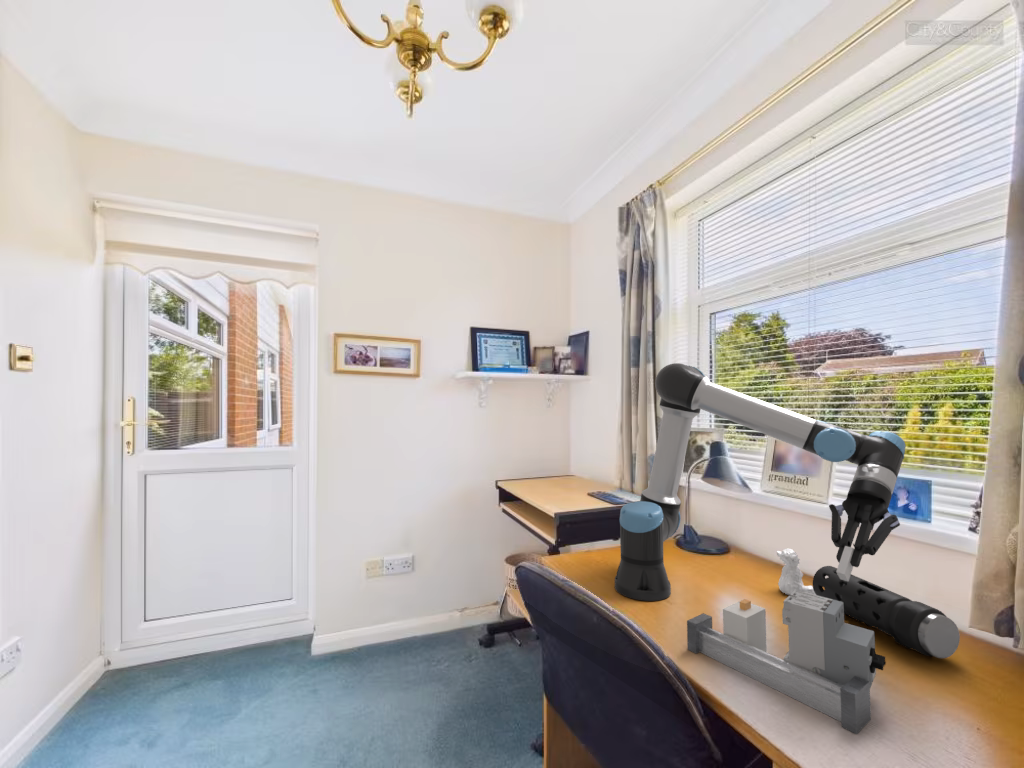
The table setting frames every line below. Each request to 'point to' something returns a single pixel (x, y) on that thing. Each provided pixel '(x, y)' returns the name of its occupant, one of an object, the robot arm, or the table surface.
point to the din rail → (784, 675)
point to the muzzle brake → (891, 613)
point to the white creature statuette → (792, 574)
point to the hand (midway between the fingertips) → (842, 576)
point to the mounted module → (746, 623)
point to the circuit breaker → (828, 640)
